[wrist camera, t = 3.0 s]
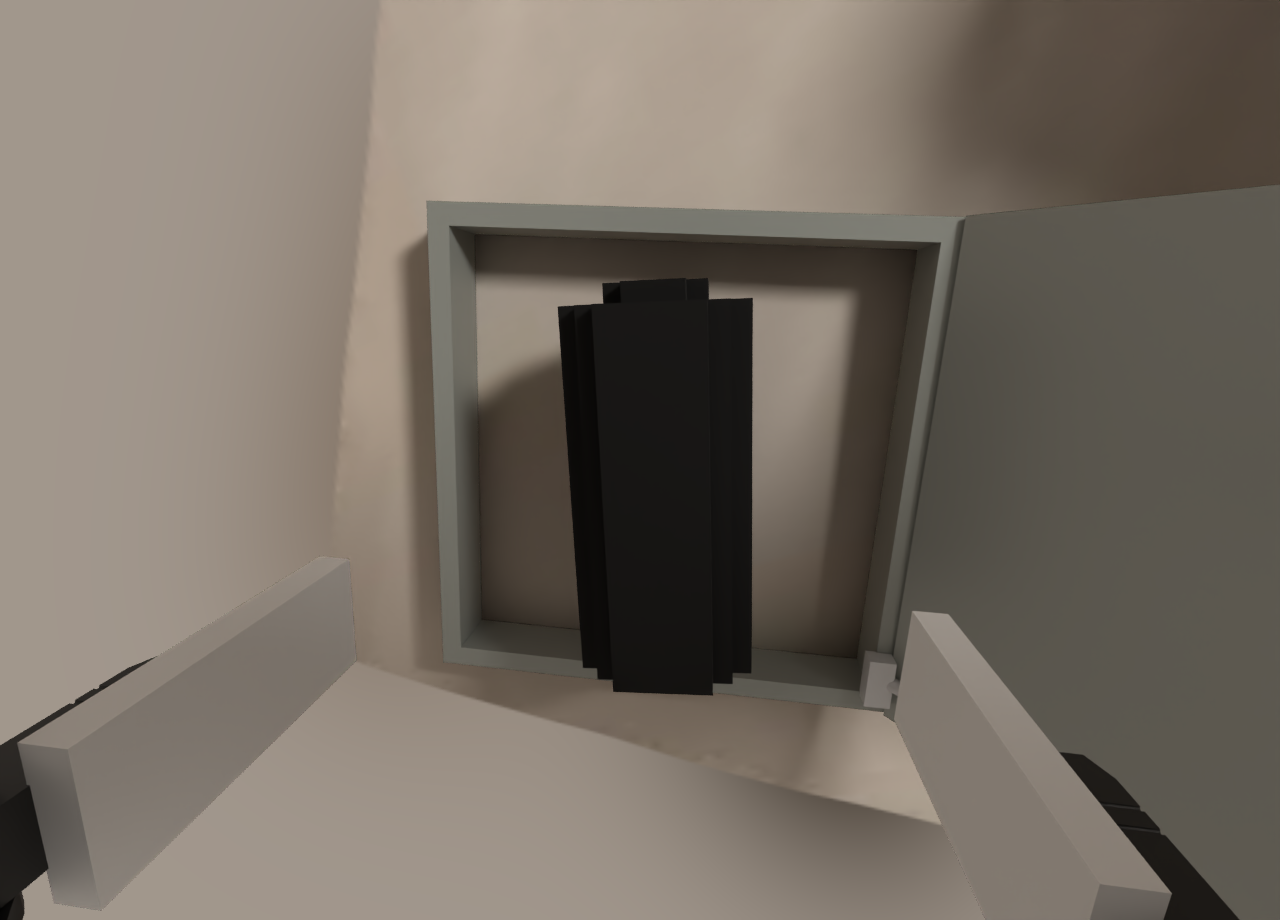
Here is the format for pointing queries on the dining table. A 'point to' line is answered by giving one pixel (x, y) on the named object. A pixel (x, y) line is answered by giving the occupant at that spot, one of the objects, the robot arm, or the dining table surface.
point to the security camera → (661, 483)
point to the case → (1016, 485)
